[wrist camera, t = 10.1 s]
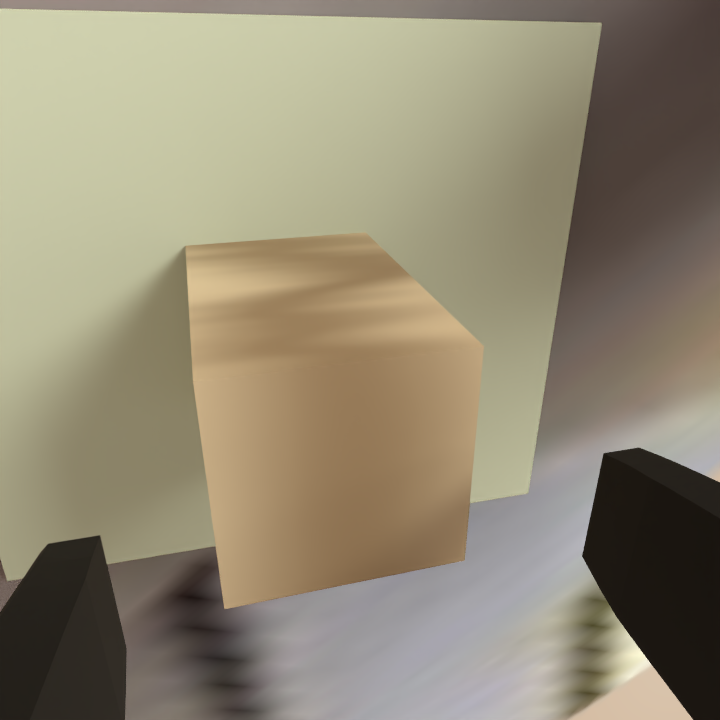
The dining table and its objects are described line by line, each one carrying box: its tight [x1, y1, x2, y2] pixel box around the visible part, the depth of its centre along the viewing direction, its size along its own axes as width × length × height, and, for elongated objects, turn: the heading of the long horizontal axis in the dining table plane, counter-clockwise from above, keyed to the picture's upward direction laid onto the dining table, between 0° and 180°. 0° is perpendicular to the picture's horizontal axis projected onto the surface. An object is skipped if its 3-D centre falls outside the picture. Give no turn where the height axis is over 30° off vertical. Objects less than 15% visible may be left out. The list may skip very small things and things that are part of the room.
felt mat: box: [0, 9, 602, 581], centre depth 17 cm, size 16×14×1 cm
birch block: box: [185, 232, 484, 609], centre depth 13 cm, size 4×4×7 cm
